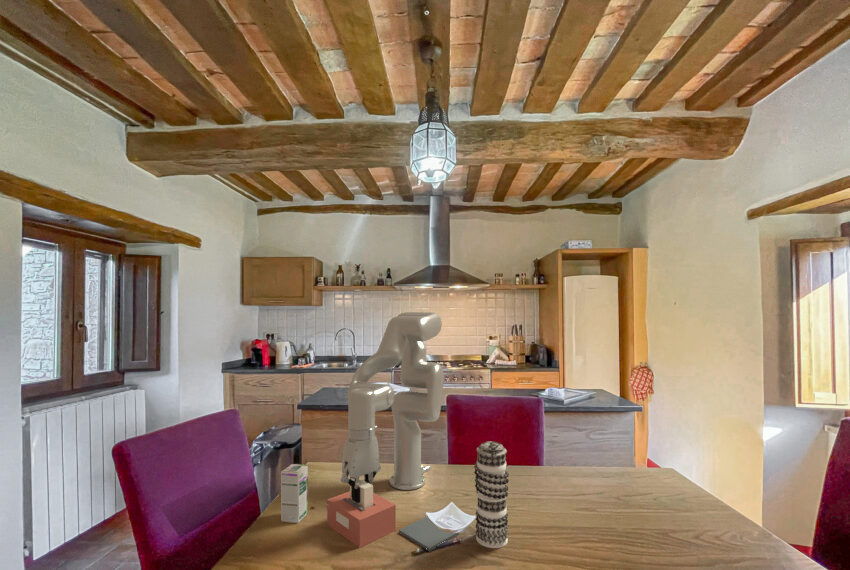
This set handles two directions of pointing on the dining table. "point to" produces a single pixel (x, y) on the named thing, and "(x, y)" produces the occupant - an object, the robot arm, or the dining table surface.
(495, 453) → the white patterned cylinder
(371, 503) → the cream upright pillar
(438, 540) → the coaster
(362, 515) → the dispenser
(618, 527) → the dining table surface
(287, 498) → the syrup box
